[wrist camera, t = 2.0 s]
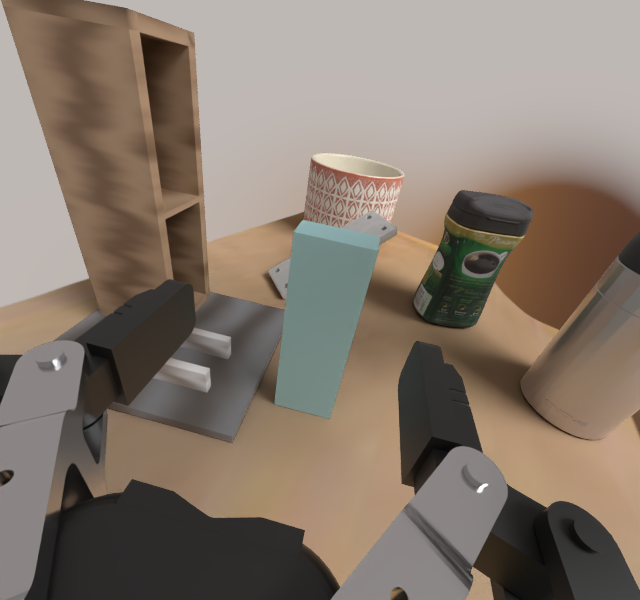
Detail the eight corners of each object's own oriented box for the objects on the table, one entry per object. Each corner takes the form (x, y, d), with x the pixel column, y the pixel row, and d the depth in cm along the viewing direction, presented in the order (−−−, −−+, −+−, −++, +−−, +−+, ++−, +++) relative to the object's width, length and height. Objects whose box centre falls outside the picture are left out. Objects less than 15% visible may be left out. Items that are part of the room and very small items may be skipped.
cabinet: (290, 317, 41) (323, 57, 26) (232, 442, 26) (225, -12, 10) (146, 282, 43) (94, 15, 27) (11, 381, 27) (-290, -99, 12)
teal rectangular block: (334, 390, 32) (379, 231, 22) (329, 419, 29) (378, 251, 19) (284, 377, 33) (305, 215, 23) (274, 404, 30) (293, 231, 20)
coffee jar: (461, 303, 52) (518, 193, 41) (480, 333, 45) (553, 212, 35) (406, 295, 51) (450, 181, 41) (417, 324, 44) (473, 198, 34)
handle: (300, 327, 49) (403, 265, 51) (281, 295, 44) (397, 226, 45) (268, 270, 62) (351, 222, 63) (249, 240, 56) (341, 188, 57)
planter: (337, 212, 81) (348, 152, 73) (399, 239, 72) (420, 174, 64) (284, 225, 68) (291, 153, 60) (352, 260, 59) (371, 181, 51)
